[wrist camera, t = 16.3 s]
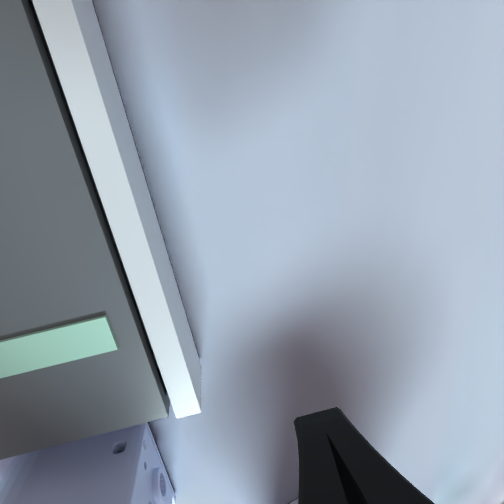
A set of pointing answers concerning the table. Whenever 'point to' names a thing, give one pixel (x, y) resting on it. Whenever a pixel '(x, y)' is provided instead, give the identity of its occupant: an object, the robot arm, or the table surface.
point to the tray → (121, 189)
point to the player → (58, 272)
